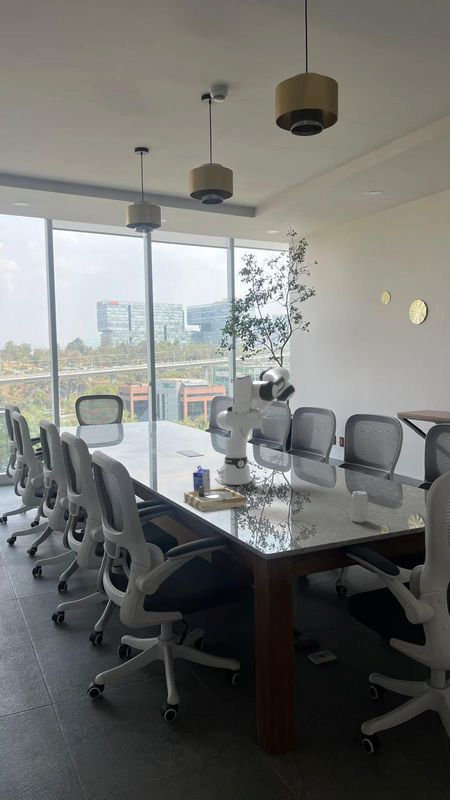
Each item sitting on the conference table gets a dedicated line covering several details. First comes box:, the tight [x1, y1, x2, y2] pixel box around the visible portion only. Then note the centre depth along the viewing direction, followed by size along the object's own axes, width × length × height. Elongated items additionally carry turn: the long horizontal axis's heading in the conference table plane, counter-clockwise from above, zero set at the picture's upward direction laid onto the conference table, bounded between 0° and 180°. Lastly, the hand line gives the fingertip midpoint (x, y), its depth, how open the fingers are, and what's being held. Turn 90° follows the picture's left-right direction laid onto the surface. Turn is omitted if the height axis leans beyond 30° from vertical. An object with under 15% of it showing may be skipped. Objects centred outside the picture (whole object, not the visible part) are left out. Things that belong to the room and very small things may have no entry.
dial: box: [197, 486, 233, 501], centre depth 275 cm, size 17×17×6 cm
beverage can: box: [350, 490, 369, 524], centre depth 241 cm, size 6×6×12 cm
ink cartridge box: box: [192, 465, 211, 491], centre depth 292 cm, size 10×6×14 cm, turn 161°
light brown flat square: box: [183, 487, 247, 512], centre depth 275 cm, size 22×22×4 cm
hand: (243, 436), depth 288 cm, fingers closed
